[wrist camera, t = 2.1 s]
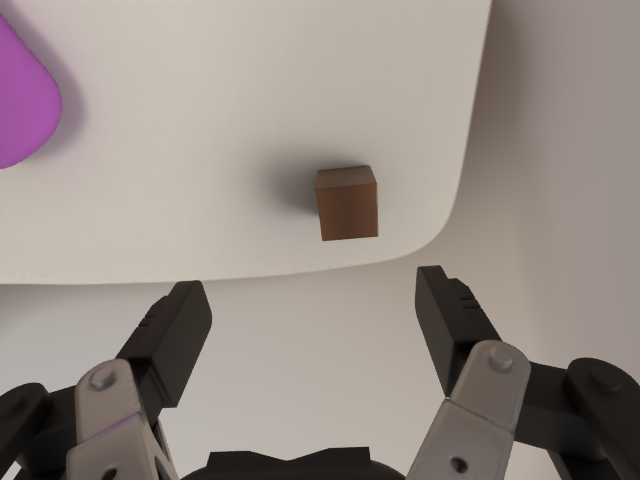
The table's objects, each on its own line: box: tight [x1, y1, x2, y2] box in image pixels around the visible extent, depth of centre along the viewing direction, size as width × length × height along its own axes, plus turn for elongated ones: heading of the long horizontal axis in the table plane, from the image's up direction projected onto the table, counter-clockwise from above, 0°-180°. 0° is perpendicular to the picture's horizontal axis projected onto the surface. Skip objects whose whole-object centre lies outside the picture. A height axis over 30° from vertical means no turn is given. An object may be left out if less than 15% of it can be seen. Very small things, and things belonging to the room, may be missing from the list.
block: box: [316, 166, 378, 241], centre depth 26 cm, size 4×4×4 cm
